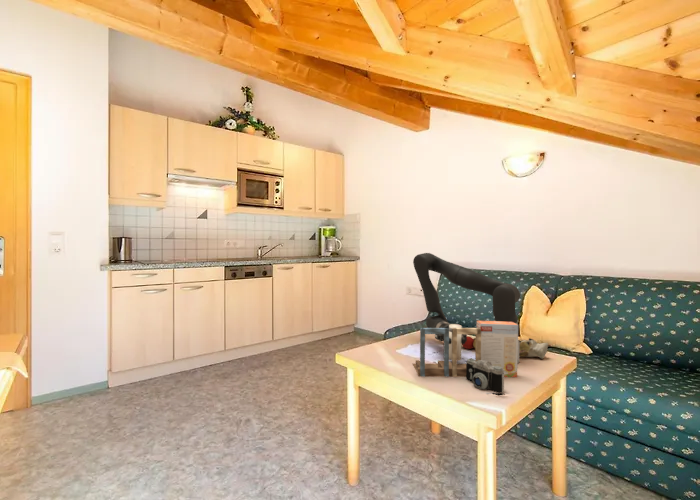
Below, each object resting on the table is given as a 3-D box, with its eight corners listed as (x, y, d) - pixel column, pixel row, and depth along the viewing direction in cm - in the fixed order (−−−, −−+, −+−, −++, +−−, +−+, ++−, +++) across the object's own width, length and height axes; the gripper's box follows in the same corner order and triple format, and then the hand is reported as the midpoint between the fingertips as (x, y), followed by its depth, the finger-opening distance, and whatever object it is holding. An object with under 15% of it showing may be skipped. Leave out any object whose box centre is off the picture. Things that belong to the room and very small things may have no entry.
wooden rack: (469, 366, 142) (470, 320, 142) (482, 379, 128) (483, 329, 128) (412, 365, 142) (412, 320, 142) (418, 379, 128) (419, 328, 128)
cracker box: (511, 374, 133) (513, 321, 133) (517, 380, 127) (519, 324, 127) (474, 372, 135) (476, 319, 134) (479, 378, 129) (480, 323, 128)
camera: (458, 383, 125) (458, 356, 124) (470, 379, 128) (470, 353, 128) (493, 399, 112) (494, 368, 112) (506, 394, 115) (506, 365, 115)
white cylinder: (459, 356, 145) (459, 324, 145) (463, 360, 140) (463, 327, 140) (447, 356, 145) (447, 324, 145) (450, 360, 140) (451, 327, 140)
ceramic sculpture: (549, 342, 146) (510, 340, 153) (550, 362, 146) (511, 359, 152) (546, 336, 156) (510, 334, 162) (547, 355, 156) (511, 353, 162)
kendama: (497, 350, 168) (459, 343, 171) (500, 338, 166) (462, 331, 170) (501, 358, 160) (461, 350, 164) (503, 346, 159) (463, 338, 162)
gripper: (430, 323, 157) (439, 332, 140) (461, 322, 157) (474, 332, 140) (430, 339, 157) (439, 350, 140) (461, 339, 157) (474, 350, 140)
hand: (457, 341), depth 140 cm, fingers closed on white cylinder, 5 cm apart
